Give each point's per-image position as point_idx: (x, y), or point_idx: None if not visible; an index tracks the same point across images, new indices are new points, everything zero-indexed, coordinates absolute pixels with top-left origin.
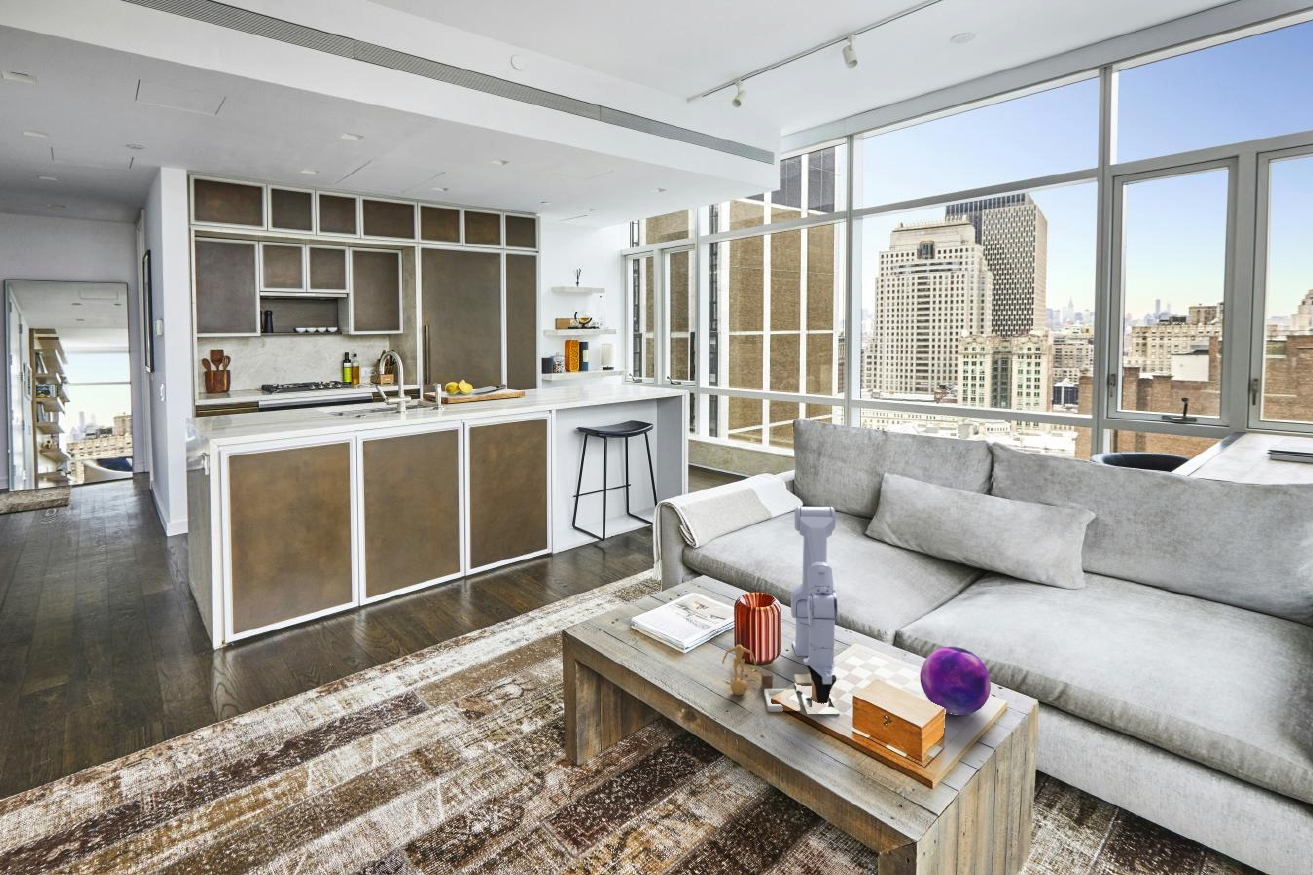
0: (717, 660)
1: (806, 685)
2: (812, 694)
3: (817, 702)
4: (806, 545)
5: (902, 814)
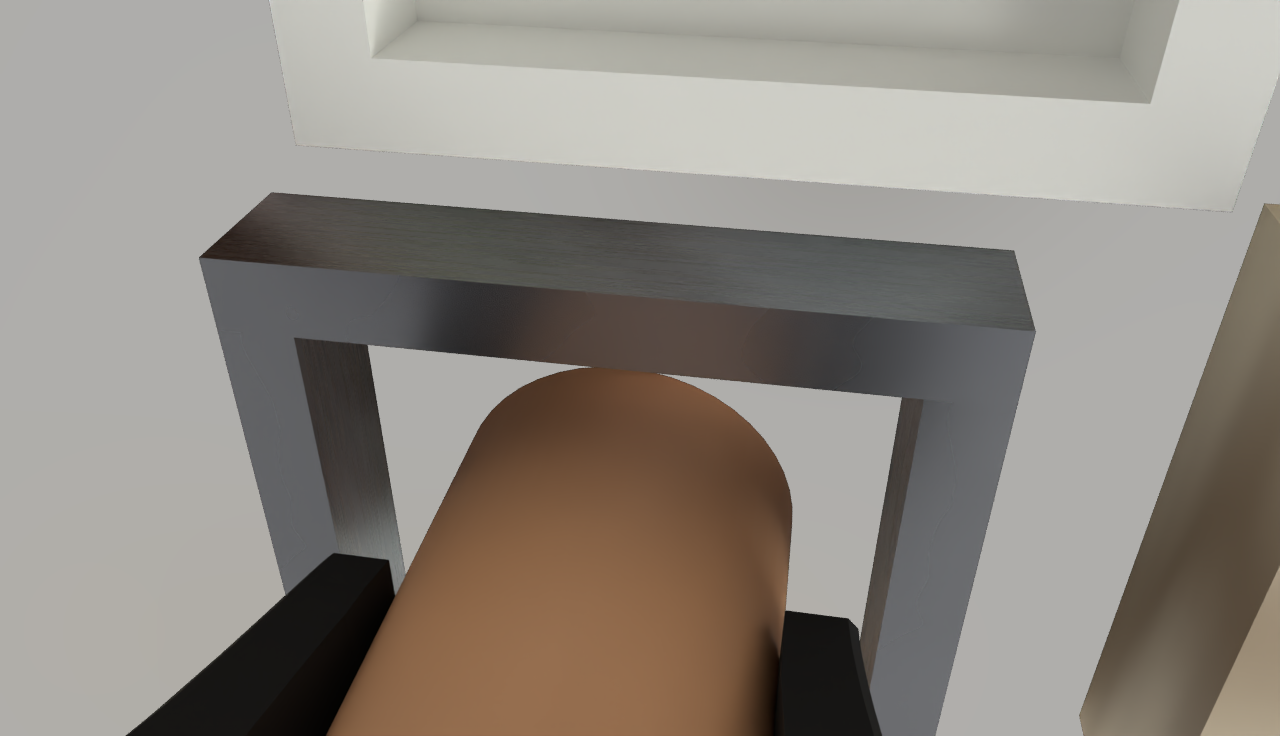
0: None
1: (1242, 533)
2: (500, 568)
3: (428, 531)
4: None
5: None
